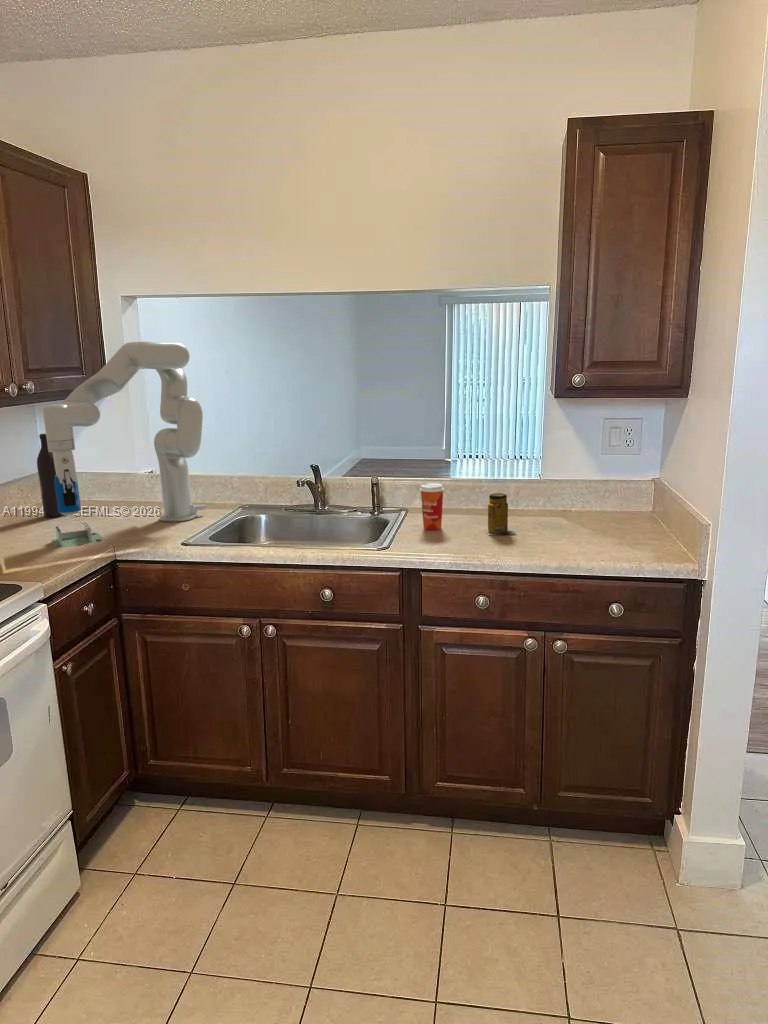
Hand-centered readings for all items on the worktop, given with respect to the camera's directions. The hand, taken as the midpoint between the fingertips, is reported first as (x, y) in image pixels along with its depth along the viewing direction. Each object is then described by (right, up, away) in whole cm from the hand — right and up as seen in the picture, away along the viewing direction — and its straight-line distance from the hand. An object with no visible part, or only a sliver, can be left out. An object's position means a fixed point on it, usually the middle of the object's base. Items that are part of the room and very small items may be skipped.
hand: (68, 503), depth 219 cm
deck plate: (+1, -13, +4) cm, 13 cm away
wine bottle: (-23, -4, +41) cm, 48 cm away
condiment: (+133, -9, +2) cm, 133 cm away
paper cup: (+113, -8, +9) cm, 113 cm away
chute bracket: (0, -12, +3) cm, 12 cm away
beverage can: (0, -3, +1) cm, 3 cm away
